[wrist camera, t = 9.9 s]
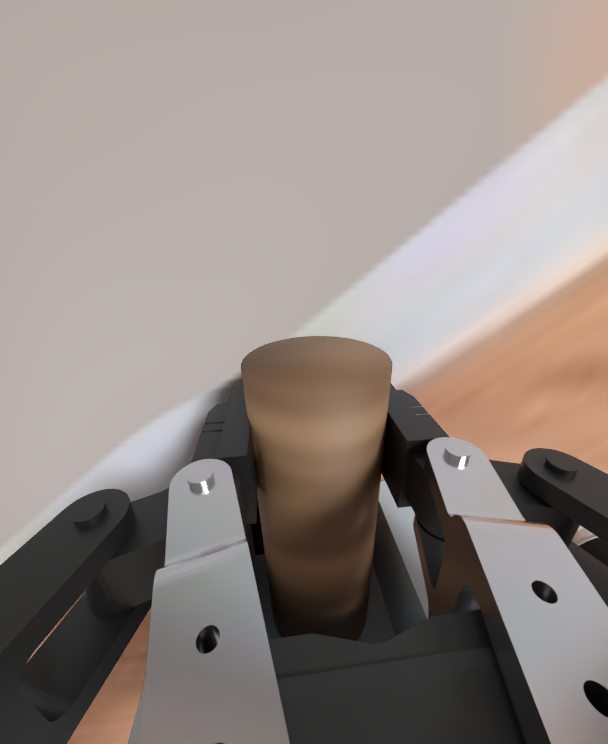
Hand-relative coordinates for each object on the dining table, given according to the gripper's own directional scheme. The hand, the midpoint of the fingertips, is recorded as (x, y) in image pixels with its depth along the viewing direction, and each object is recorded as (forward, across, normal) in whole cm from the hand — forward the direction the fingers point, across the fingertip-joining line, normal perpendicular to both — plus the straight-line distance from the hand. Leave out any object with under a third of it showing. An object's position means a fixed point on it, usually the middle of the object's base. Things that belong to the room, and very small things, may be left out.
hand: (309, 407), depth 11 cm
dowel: (0, 0, +3) cm, 3 cm away
